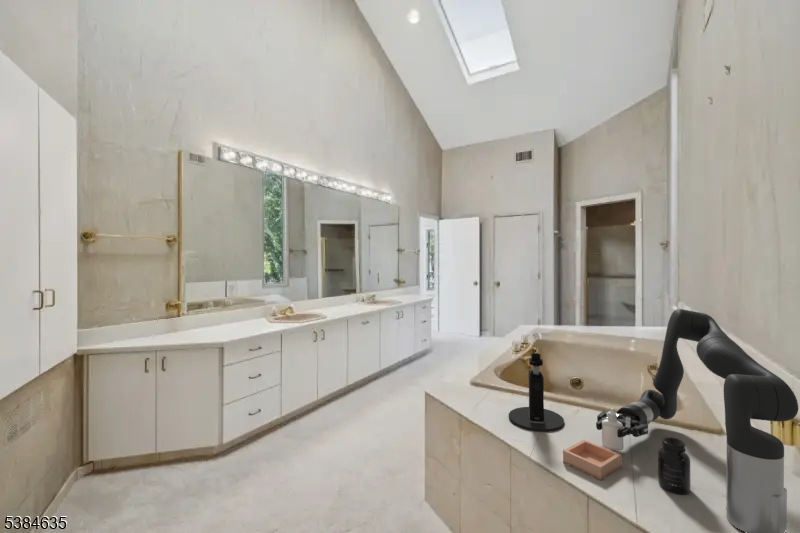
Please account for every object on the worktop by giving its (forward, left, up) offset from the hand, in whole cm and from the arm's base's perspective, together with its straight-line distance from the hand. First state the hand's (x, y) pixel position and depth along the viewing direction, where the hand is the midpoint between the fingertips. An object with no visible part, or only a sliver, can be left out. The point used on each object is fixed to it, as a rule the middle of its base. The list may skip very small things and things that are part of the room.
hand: (608, 430), depth 114 cm
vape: (+28, -4, -8) cm, 29 cm away
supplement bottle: (-18, +2, -8) cm, 20 cm away
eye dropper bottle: (0, -3, -6) cm, 7 cm away
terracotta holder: (0, +9, -8) cm, 12 cm away
